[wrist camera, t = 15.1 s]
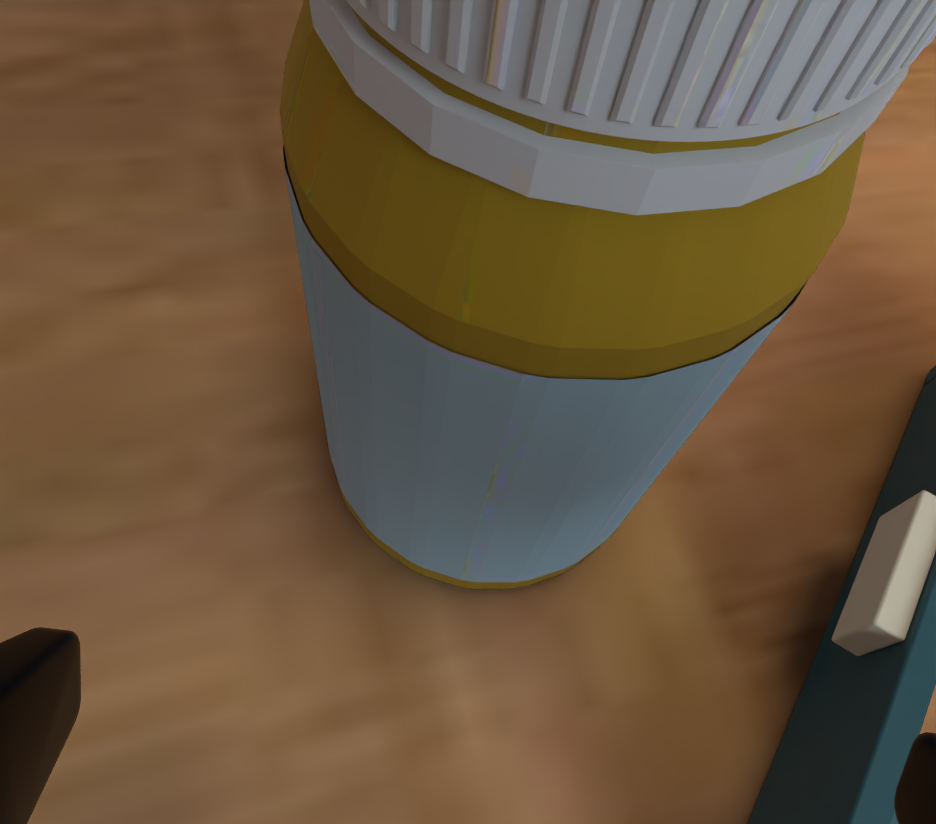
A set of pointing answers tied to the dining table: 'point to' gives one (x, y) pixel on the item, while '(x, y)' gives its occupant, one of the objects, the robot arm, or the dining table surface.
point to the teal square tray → (869, 658)
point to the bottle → (558, 242)
